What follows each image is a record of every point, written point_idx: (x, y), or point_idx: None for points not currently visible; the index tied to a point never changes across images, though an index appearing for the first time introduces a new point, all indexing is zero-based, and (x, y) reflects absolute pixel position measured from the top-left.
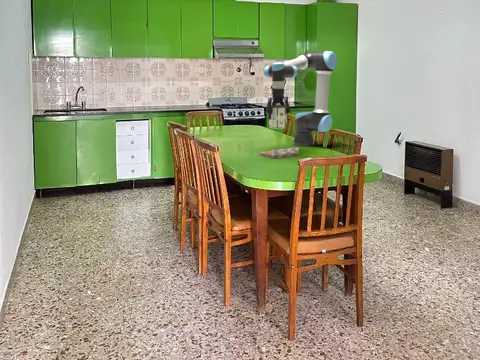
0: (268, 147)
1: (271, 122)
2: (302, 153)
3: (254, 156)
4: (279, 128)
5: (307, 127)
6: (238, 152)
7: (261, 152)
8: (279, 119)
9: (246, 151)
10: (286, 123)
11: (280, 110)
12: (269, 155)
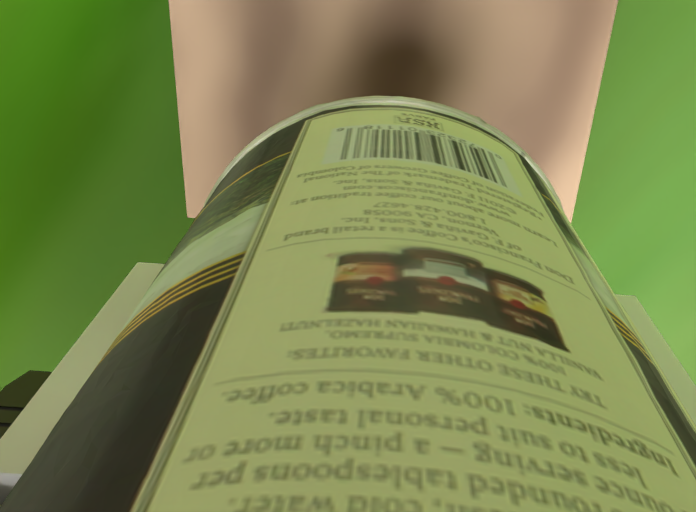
0: None
1: (659, 336)
2: (50, 23)
3: (659, 206)
4: (478, 119)
5: None
6: None
7: (569, 215)
8: (520, 216)
9: None
10: (135, 266)
11: (574, 463)
12: (609, 24)
